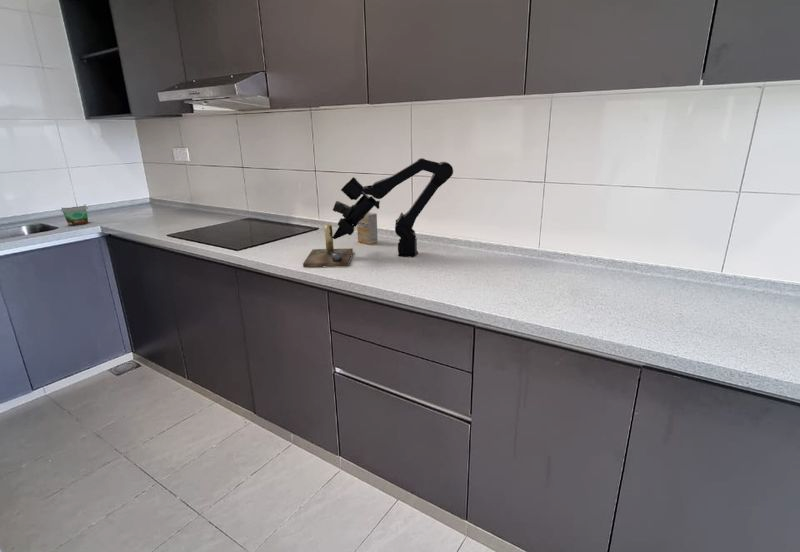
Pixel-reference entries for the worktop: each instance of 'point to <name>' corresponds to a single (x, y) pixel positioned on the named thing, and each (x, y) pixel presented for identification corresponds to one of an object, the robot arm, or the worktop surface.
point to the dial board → (327, 258)
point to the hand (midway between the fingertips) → (333, 238)
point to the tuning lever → (331, 244)
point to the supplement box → (368, 229)
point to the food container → (76, 215)
